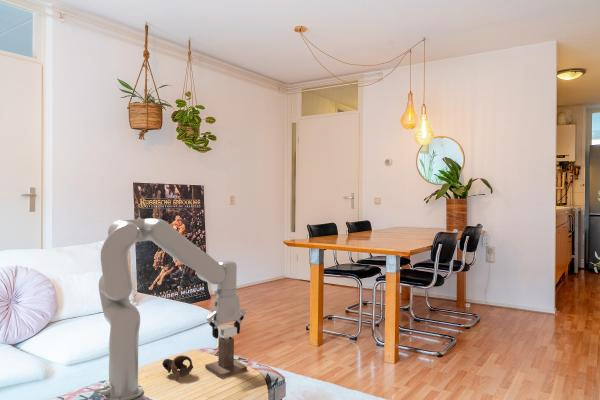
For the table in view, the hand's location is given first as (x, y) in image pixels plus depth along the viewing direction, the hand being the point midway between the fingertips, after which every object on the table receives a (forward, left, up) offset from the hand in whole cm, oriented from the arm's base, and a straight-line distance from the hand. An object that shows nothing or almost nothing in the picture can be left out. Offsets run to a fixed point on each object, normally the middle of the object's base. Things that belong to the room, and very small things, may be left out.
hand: (226, 335), depth 175 cm
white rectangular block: (0, 0, -12) cm, 12 cm away
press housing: (0, 0, -14) cm, 14 cm away
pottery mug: (-17, +7, -14) cm, 23 cm away
